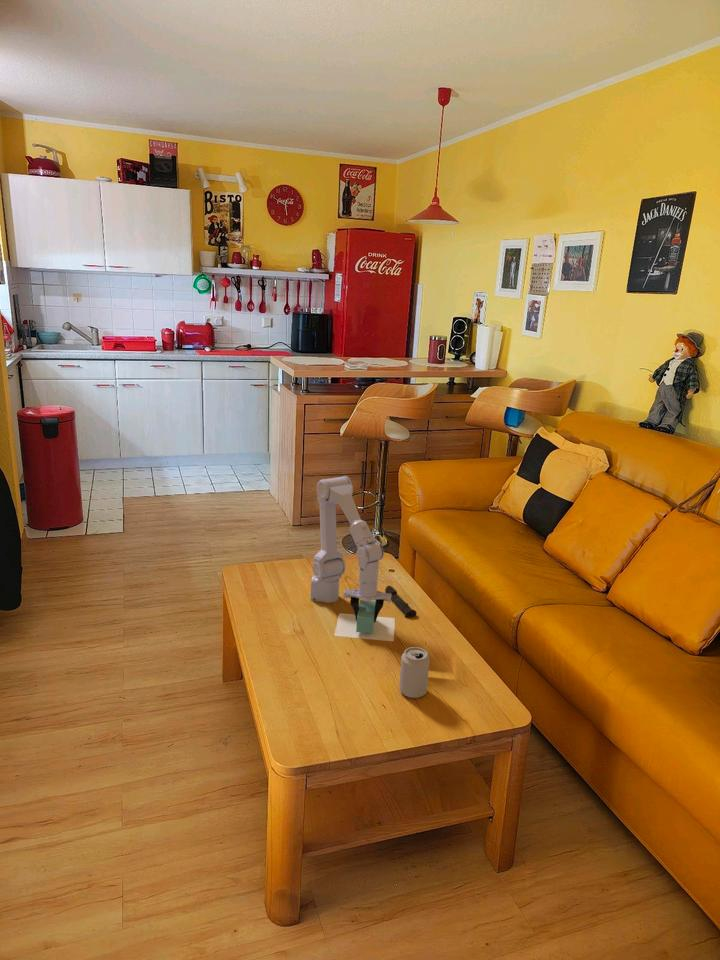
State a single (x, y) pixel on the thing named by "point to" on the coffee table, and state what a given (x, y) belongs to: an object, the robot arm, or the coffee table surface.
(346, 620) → the board
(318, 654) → the coffee table surface
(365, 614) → the block
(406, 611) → the hand tool
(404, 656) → the can
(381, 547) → the robot arm
